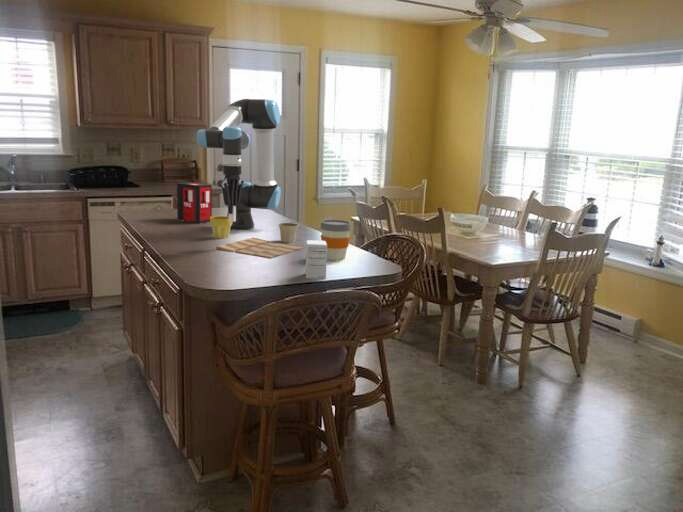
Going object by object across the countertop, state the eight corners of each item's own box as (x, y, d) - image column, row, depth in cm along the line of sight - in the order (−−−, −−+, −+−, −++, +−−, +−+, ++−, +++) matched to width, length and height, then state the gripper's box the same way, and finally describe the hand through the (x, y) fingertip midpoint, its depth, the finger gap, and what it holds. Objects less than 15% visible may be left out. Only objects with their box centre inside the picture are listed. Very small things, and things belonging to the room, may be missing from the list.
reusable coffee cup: (339, 262, 238) (340, 225, 234) (313, 258, 244) (314, 222, 241) (355, 257, 248) (356, 222, 245) (330, 253, 254) (331, 218, 251)
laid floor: (269, 244, 268) (269, 241, 267) (304, 249, 259) (304, 246, 259) (234, 253, 245) (234, 251, 245) (271, 260, 237) (271, 257, 237)
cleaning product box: (177, 220, 320) (176, 183, 315) (189, 218, 327) (189, 182, 323) (199, 224, 311) (199, 186, 307) (211, 222, 319) (211, 185, 314)
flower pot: (301, 242, 275) (302, 223, 274) (293, 245, 267) (293, 226, 265) (283, 240, 278) (283, 222, 277) (274, 243, 270) (274, 224, 268)
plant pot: (237, 238, 277) (237, 218, 275) (218, 241, 269) (218, 219, 267) (223, 235, 284) (223, 215, 282) (205, 237, 276) (205, 216, 274)
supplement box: (305, 273, 218) (306, 239, 216) (325, 273, 219) (326, 240, 216) (305, 278, 211) (306, 243, 208) (326, 279, 212) (327, 244, 209)
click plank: (253, 240, 272) (253, 237, 271) (269, 243, 268) (269, 241, 268) (216, 249, 249) (216, 246, 249) (233, 253, 245) (233, 250, 245)
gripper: (229, 166, 238) (229, 224, 243) (249, 164, 249) (248, 220, 255) (214, 165, 241) (215, 222, 247) (234, 163, 252) (234, 218, 258)
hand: (232, 221), depth 251 cm, fingers closed
